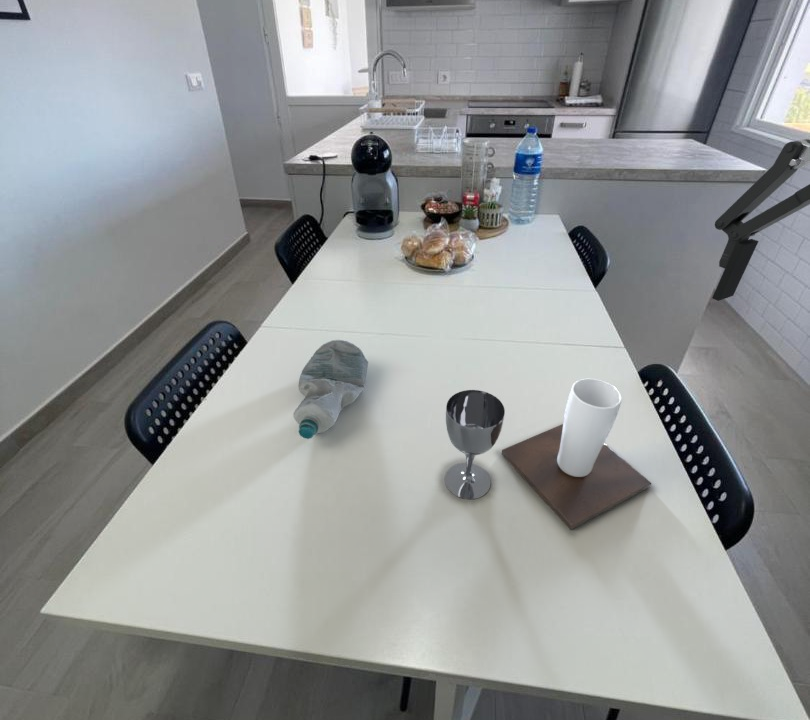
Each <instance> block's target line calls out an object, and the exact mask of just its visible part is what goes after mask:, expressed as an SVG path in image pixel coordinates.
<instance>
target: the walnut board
mask: <svg viewBox="0 0 810 720" xmlns="http://www.w3.org/2000/svg"><path fill="white" fill-rule="evenodd" d="M562 429H563V423H562V424H560V425H557V426H555V427H552V428H550V429H547V430H545V431H543V432H541V433H538V434H536V435H534V436H531V437H528V438H527V439H524V440H522V441H520V442H518V443H517V442H516V443H515V444H512V445H510V446H508V447H506V448H503V449H501V455H502V456H503V457H504V459H505V460H506V461H507V463H509V464H510V465H511V466H512V467H513V468H514V470H515V471H516V472H517V473H518V474H519V476H521V477H522V478H523V479H524V481H526V482H527V484H528V485H529V486H530V487H531V488H532V490H534V491H535V492H536V494H538V496H539V497H540V498H541V499H542V500H543V501H544V502H545V504H547V506H548V507H549V508H550V509H551V510H552V511H553V512H554V514H556V516H558V517H559V518H560V520H561V521H562V522H563V523H564V524H565V525H566V526H567V527H568V529H570V530H571V531H572V530H574V529H576V528H578V527H579V526H582V525H584V524H585V523H587V522H589V521H591V520H592V519H594V518H596V517H597V516H600V515H602V514H603V513H606V512H607V511H609V510H611V509H613V508H614V507H616V506H618V505H620V504H622V503H623V502H625V501H627V500H629V499H631V498H632V497H635V496H636V495H639V494H640V493H643V492H644V491H646V490H648V489H649V488H651V486H652V482H651V481H650V480H648V478H646V477H645V476H644V475H643V474H642V473H641V472H639V471H638V470H637V469H635V468H634V467H633V466H632V465H631V464H629V462H627V461H626V460H625V459H624V458H622V457H621V456H620V455H619V454H618V453H616V452H615V451H614V450H613V449H611V447H609V446H608V445H607V444H606V443H604V445H603V447H602V449H601V451H600V453H599V455H598V457H597V459H596V461H595V463H594V466H593V469H592V471H591V472H590V473H589V474H588V475H586V476H584V477H574V476H571V475H568V474H566V473H565V472H563V471H562V470H561V469H560V467H559V465H558V463H557V456H558V453H559V448H560V442H561V436H562Z"/></svg>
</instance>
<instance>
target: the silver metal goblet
mask: <svg viewBox="0 0 810 720" xmlns="http://www.w3.org/2000/svg"><path fill="white" fill-rule="evenodd" d="M505 410H506V409H505V407H504V404H503V403H502V401H501V399H499V398H498V397H497V396H495V395H493V394H492V393H489V392H487V391H483V390H479V389H467V390H462V391H458V392H455V393H454V394H453V395H452V396H450V398H449V399H448V400H447V403H446V407H445V426H446V432H447V435H448V438H449V441H450V443H451V444H452V446H454V448H455V449H456V450H458V451H459V452H460V453H462V454H464V456H465V462H459V463H458V462H457V463H456V464H454V465H451V466H450V467H449V468H448V470H446V472H445V475H444V484H445V487H446V488H447V490H448V491H449V492H450V493H451V494H452V495H454V496H456V497H457V498H460V499H463V500H476V499H479V498H482V497H484V496H485V495H486V494H487V493H488V492H489V491H490V488H491V482H492V481H491V477H490V475H489V473H488V472H487V471H486V470H485V469H484V468H483V467H482V466H479V465H478V464H475V463H474V459H475V457H477V456H480V455H483V454H485V453H487V452H489V451H490V450H492V449H493V448H494V446H495V445H496V443H497V441H498V440H499V437H500V436H501V435H500V434H501V432H502V429H503V425H504V421H505V416H506V415H505V414H506V413H505V412H506V411H505Z"/></svg>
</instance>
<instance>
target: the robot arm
mask: <svg viewBox="0 0 810 720" xmlns="http://www.w3.org/2000/svg"><path fill="white" fill-rule="evenodd" d="M809 164H810V139H809V138H805V139H800V140H793V141H789V142H787V143H785V144H784V146H783V147H782V149H781V150H780V152H779V154H778V156H777V158H776V160H775V161H774V162H773V164H772V166H771V167H770V168H769V169H768V170H767V171H766V172H765V173H764V174H762V176H760V177H759V178H758V179H757V181H755V183H753V184H752V185H751V186H750V187H749V188H748V189H747V190H746V191H745V192H744V193H743V194H741V196H740V197H739V198H738V199H737V200H736V201H734V203H732V205H731V206H730V207H728V208H727V209H726V210H725V211H724V212H723V213H722V214H721V215H720V216H719V217H718V218H717V219H716V220H715V222H714V227H715V229H716V230H719V231H723V232H724V233H725V234H726V235H727V237H728V239H727V243H726V245H725V247H724V249H723V252H722V254H721V256H720V259H719V261H718V267H719V268H721V269H724V270H723V272H722V275H721V276H720V278H719V281H718V284H717V285H716V288H715V290H714V292H713V295H712V297H711V299H713V300H715V301H718V302H719V301H722V300H726V299H729V298H731V297H734V295H735V294H736V293H735V292H736V291H737V288H738V286H739V284H740V282H741V280H742V278H743V276H744V274H745V271H746V269H747V267H748V265H749V263H750V261H751V258H752V256H753V254H754V252H755V250H756V249H757V246H758V244H759V242H760V241H759V240H757V239H753V238H750V237H754V236H756V234H758V233H760V232H761V231H763V230H766V229H768V228H769V227H771V226H773V225H775V224H776V223H779V222H780V221H781V220H784V219H786V218H788V217H790V216H791V215H793V214H795V213H797V212H798V211H801V210H803V209H804V208H806V207H808V206H809V205H810V183H809V184H808V185H806V186H803V187H802V188H800V189H799V190H797V191H796V192H794V193H793V194H792V195H789V196H788V197H787V198H785V199H783V200H781V201H780V202H778V203H776V204H775V205H772V206H771V207H770V208H768V209H766V210H764V211H762V212H761V213H759V214H757V215H755V216H754V217H752V218H751V219H748V220H747V221H745V222H743V221H744V220H745V219H746V218H747V217H748V216H749V215H750V214H751V213H753V212H754V211H755V210H756V209H757V208H758V207H759V206H760V205H762V203H764V202H765V201H766V200H767V199H768V198H770V196H771V195H772V194H773V193H774V192H776V191H777V190H778V189H779V188H780V187H781V186H782V185H783V184H784V183H786V182H787V181H788V180H789V179H790V178H791V177H792V176H793V175H794V174H795V173H796V172H797V171H798V170H799V169H802V168H805V167H807V166H808V165H809Z"/></svg>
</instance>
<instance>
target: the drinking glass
mask: <svg viewBox="0 0 810 720" xmlns="http://www.w3.org/2000/svg"><path fill="white" fill-rule="evenodd" d="M622 402H623V396H622V393H621V392H620V390H619V389H617V388H616V387H615V386H614V385H613V384H611V383H609V382H608V381H604V380H601V379H598V378H582V379H578V380H577V381H575V382H574V383H573V384H572V385H571V389H570V392H569V394H568V397H567V401H566V405H565V410H564V416H563V423H562V424H563V429H562V436H561V442H560V448H559V453H558V456H557V463H558V465H559V467H560V469H561V470H562V471H563V472H565V473H566V474H568V475H571V476H574V477H584V476H586V475H588V474H589V473H590V472H591V471H592V469H593V466H594V463H595V461H596V459H597V457H598V455H599V453H600V451H601V449H602V447H603V445H604V444H606V441H607V439H608V437H609V435H610V433H611V432H612V429H613V427H614V425H615V422H616V420H617V417H618V415H619V412H620V408H621V404H622Z"/></svg>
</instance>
